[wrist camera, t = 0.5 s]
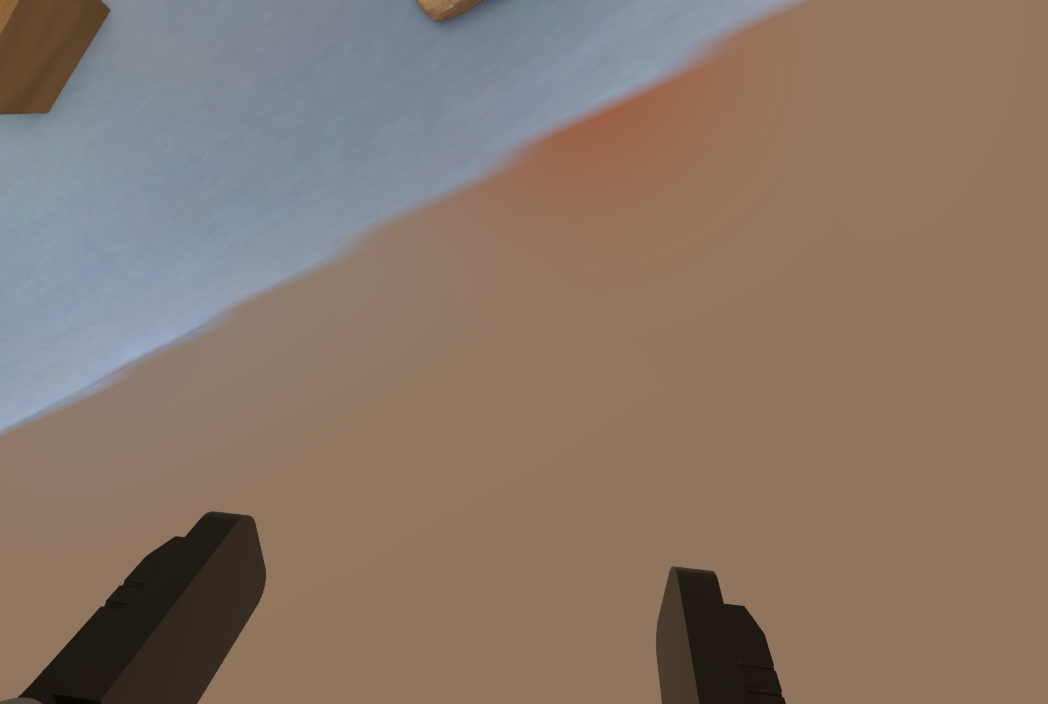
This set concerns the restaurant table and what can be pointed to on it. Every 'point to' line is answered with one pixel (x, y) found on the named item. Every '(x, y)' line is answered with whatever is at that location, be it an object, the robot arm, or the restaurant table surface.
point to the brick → (445, 8)
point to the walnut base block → (43, 49)
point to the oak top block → (2, 4)
